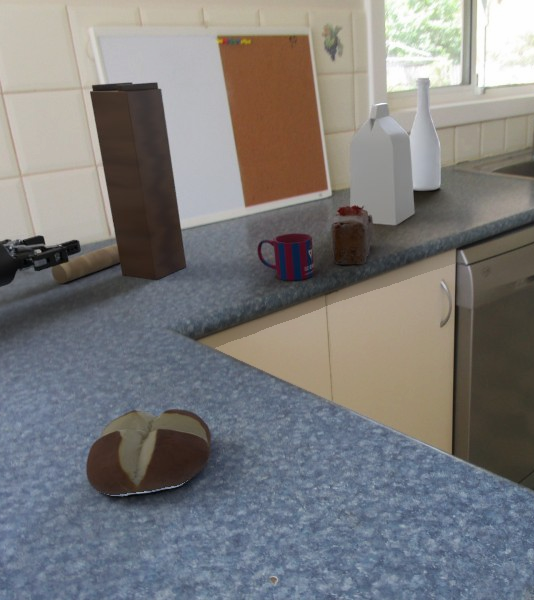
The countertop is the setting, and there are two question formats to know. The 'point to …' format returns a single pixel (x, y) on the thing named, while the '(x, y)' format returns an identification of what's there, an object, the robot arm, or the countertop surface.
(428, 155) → the wine bottle
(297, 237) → the mug
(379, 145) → the milk
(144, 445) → the bread
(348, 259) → the food item
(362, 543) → the countertop surface
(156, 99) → the stand
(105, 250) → the rolling pin
